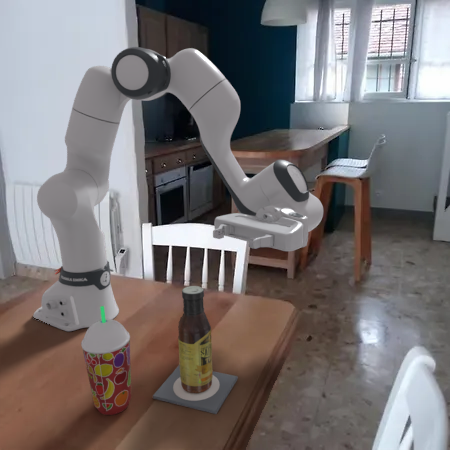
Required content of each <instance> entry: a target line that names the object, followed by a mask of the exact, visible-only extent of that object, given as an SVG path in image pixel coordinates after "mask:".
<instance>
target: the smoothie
mask: <svg viewBox="0 0 450 450" xmlns="http://www.w3.org/2000/svg"><path fill="white" fill-rule="evenodd" d="M100 309H101V318H102V320H99V321H97V322H95V323H93V324H92V325H91V326H90V327H87V330H86V332H85V334H84V337H83V338H82V340H81V343H80V345H81V348H82V353H83V357H84V362H85V363H84V364H85V367H86V372H87V377H88V382H89V386H90V391H91V397H92V401H93V405H94V408H96V409H97V411H98V412H99V413H100V414H103V415H106V416H112V415H116V414H120V413H121V412H123V411H125V410H126V409H127V408H128V406H129V404H130V401H131V400H132V373H131V371H132V369H131V340H130V339H131V334H130V333H129V331H127V329H126V327H124V325H123V324H122V323H120V322H119V321H117V320H116V319H105V311H104V306H101V307H100Z"/></svg>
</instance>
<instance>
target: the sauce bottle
mask: <svg viewBox="0 0 450 450" xmlns="http://www.w3.org/2000/svg"><path fill="white" fill-rule="evenodd" d="M181 296H182V302H183V308H182V309H183V313H182V316H181V317H180V319H179V321H178V325H177V326H178V330H177V331H178V338H177V339H178V340H177V341H178V355H179V356H178V359H179V365H180V379H181V385H182V387H183V389H184V390H185V391H187V392H189V393H202V392H204V391H206V390H208V389H209V388H210V386H211V385H212V377H213V375H212V371H213V352H212V351H213V347H212V346H213V344H212V327H211V325H210V322H209V319H208V317H207V314H206V312H205V307H204V297H205V289H204V288H203V287H201V286H198V285H190V286H186V287H184V288H183V289H182V290H181Z"/></svg>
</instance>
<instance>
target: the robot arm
mask: <svg viewBox="0 0 450 450" xmlns="http://www.w3.org/2000/svg"><path fill="white" fill-rule="evenodd" d="M84 73H85V74H84V75H83V77H82V79H81V81H80V83H79V86H78V89H77V92H76V94H75V97H74V99H73V104H72V108H71V111H70V115H69V121H68V124H67V128H66V132H65V136H64V143H65V145H66V165H65V168H64V170H63V171H61V172H59V173H56V174H54V175H52V176H50V177H48V179H46V181H44V182H43V184H42V185H41V186H40V187H39V189H38V191H37V194H36V202H37V205H38V208H39V210H40V211H41V213H42V214H43V215H44V216H45V217H46V218H48V219H49V220H50V222H51V226H53V229H54V231H55V234H56V237H57V239H58V245H59V252H60V258H61V266H60V267H59V268H57V269H55V270H54V272H55V273H54V275H57V274H59V275H58V280H56V282H54V283H53V284H52V285H51V286H49V287H48V288H47V289H46V290H45V292H43V294H42V296H41V306H40V307H39V308H37V309H36V311H34V313H33V317H34V318H36V319H39V320H41V321H43V322H42V323H44V322H45V324H46V323H47V325H49V324H50V326H52V327H54V328H57V329H59V330H63V331H65V332H72V331H76V330H79V329H80V330H81V329H85V328H89V327H90V326H91V325H92V324H93V323H95V322H97V321H99V320H102V318H101V309H100V307H101V306H104V311H105V319H112V320H114V319H115V318H116V317H117V316H118V315H119V313H120V309H119V305H118V304H117V302H116V299H115V296H114V292H113V288H112V283H111V267H110V262H109V260H108V256H107V246H106V237H105V233H104V232H103V230H102V229H101V228H100V226H99V224H98V220H97V219H96V214H95V207H97V205H99V204H100V203H102V202H103V200H104V198H105V197H106V195H107V194H108V192H109V188H110V181H109V177H110V169H111V167H110V166H111V161H112V160H111V157H112V152H113V149H114V145H115V142H116V138H117V134H118V130H119V127H120V123H121V120H122V116H123V112H124V109H125V108H126V105H127V104H128V102H130V101H131V100H136V101H142V102H143V101H145V102H146V101H147V102H148V101H152V100H158V99H161V98H164V97H165V96H166V95H167V94H169V93H170V94H172V95H174V96H175V97H177V99H179V101H181V103H182V105H184V107H186V109H187V111H188V112H189V113H190V114H191V116H192V117H193V119H194V121H195V122H196V125H197V127H198V131H199V142H200V145H201V147H202V149H203V150H204V153H205V154H206V156H207V158H208V160H209V161H210V163H211V165H212V166H213V167H214V169H215V171H216V173H217V175H218V176H219V177H220V179H221V181H222V182H223V184H224V185H225V187H226V188H227V190H228V192H229V194H230V195H231V197H232V198H231V199H232V200H233V204H234V206H235V208H236V209H237V213H236V212H235V213H234V212H233V213H228V214H223V215H220V216H219V215H218V216H216V217H215V218H214V225H213V226H214V227H213V228H214V229H213V231H212V238H214V239H216V240H221V239H224V238H225V237H229V238H232V239H235V240H236V239H237V240H239V241H244V242H248V247H249V248H251V249H256V250H257V249H259V248H272V249H276V250H279V251H283V252H293V251H296V250H298V249H300V248H305V247H307V246H308V239H309V232H311V231H313V230H314V229H315V228H317V226H318V225H320V224H321V221H322V219H323V217H324V206H323V204H322V202H321V200H320V199H319V197H317V196H315V195H314V194H312V193H311V192H310V190H309V184H308V181H307V179H306V177H305V174H304V173H303V171H302V170H301V169H300V167H299V166H297V165H296V164H294V163H292V161H291V162H290V161H288V160H286V159H277V160H275V161H274V162H272V163H270V164H269V165H268V166H266V167H265V168H264V169H262V170H261V171H260V172H258V173H256V174H255V175H254V176H253V177H248V176H247V175H246V174H245V172H244V170H243V168H242V167H241V166H240V164H239V162H238V160H237V159H236V157H235V155H234V153H233V152H232V149H231V138H232V135H233V132H234V130H235V128H236V125H237V123H238V121H239V118H240V114H241V100H240V96H239V95H238V92H237V91H236V89H235V88H234V87H233V86H232V84H231V82H230V81H229V80H228V79H227V78H226V77H225V75H224V74H223V73H222V72H221V71H220V69H219V68H218V67H217V66H216V65H215V64H214V63H213V62H212V61H211V60H210V59H209V58H208V57H207V56H206V55H205V54H203V53H202V52H201V51H199V50H198V49H196V48H193V47H191V48H190V47H189V48H185V49H182V50H180V51H178V52H176V54H174V55H173V56H171V57H169V58H166V56H164V55H163V54H160V53H158V52H157V51H155V50H152V49H149V48H144V47H139V46H131V47H127V48H125V49H123V50H121V51H120V52H119V53H118V54H116V56H115V57H114V59H113V61H112V64H111V66H110V67H109V66H105V65H94V66H91V67H90V68H88V69H87V70H86V71H85V72H84ZM33 317H32V318H33ZM34 318H33V319H34ZM36 319H35V320H36ZM39 320H38V321H39ZM41 321H40V322H41Z"/></svg>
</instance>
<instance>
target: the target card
mask: <svg viewBox="0 0 450 450" xmlns="http://www.w3.org/2000/svg"><path fill="white" fill-rule="evenodd" d="M212 375H213V377H212V385H211V386H210V388H209V389H208V390H206V391H204V392H202V393H189V392H187V391H185V390H184V389H183V387H182V385H181V379H180V364H178V366H177V367H176V368H175V369H174V370H173V372H172V373H171V374H170V375H169V376H168V377H167V379H166V380H164V382H163V383H162V384H161V386H160V387H159V388H158V389H157V390H156V391H155V392H154V393H153V394H152V399H153V400H158V401H162V402H167V403H170V404H175V405H178V406H182V407H187V408H189V409H195V410H199V411H202V412H206V413H210V414H213V415H217V413H218V412H219V410H220V409H221V407H222V406H223V404H224V402H225V400H227V397H228V396H229V394H230V392H231V391H232V390H233V387H234V386H235V384H236V382H237V381H238V379H239V377H238V376H237V375H234V374H233V375H232V374H227V373H224V372H223V373H222V372H218V371H215V370H212Z"/></svg>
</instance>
